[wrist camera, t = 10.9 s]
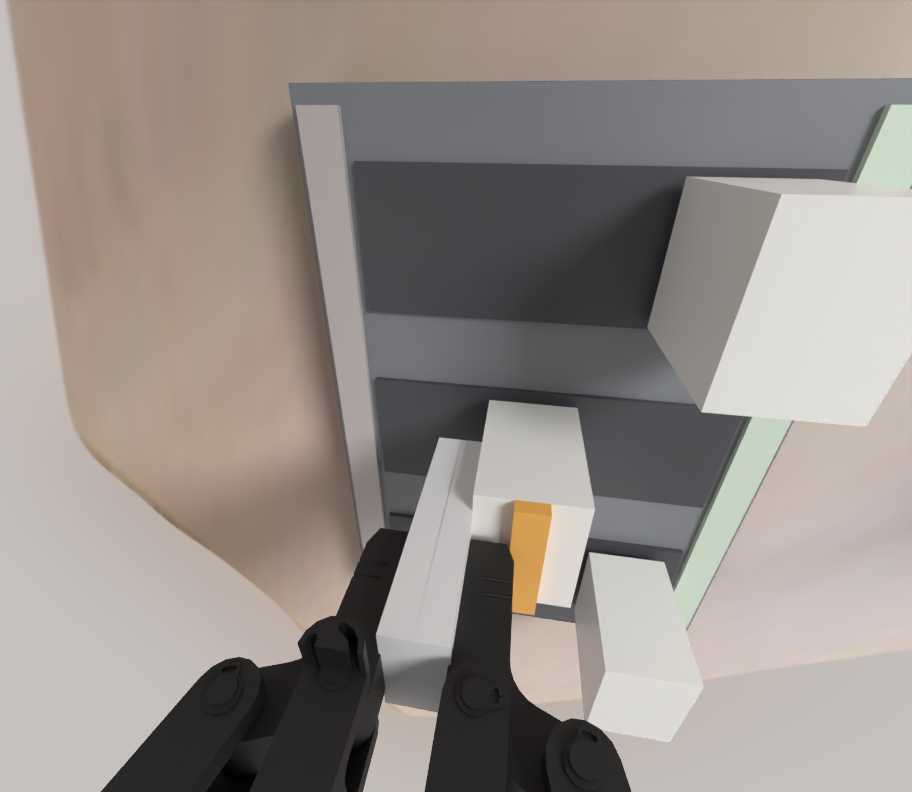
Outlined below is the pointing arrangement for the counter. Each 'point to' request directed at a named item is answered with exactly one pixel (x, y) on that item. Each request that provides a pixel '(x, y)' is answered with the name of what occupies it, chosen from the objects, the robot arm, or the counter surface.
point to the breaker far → (633, 649)
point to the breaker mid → (535, 498)
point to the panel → (555, 278)
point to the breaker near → (787, 296)
